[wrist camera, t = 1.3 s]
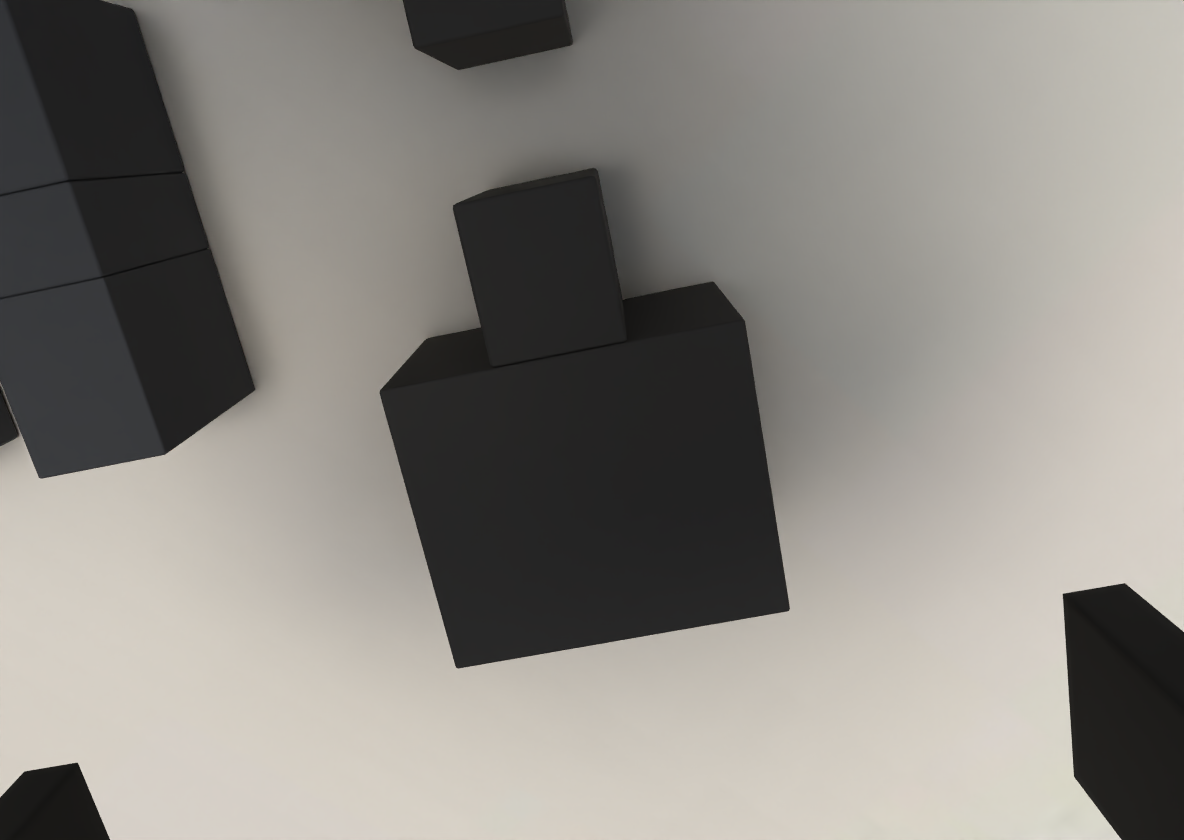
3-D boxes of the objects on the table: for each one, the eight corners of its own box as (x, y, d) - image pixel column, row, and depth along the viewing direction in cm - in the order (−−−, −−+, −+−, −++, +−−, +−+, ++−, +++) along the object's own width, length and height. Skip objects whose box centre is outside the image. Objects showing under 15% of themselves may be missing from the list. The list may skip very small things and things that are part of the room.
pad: (692, 147, 24) (718, 148, 18) (753, 518, 27) (790, 612, 21) (391, 210, 24) (332, 229, 19) (484, 567, 27) (455, 669, 22)
